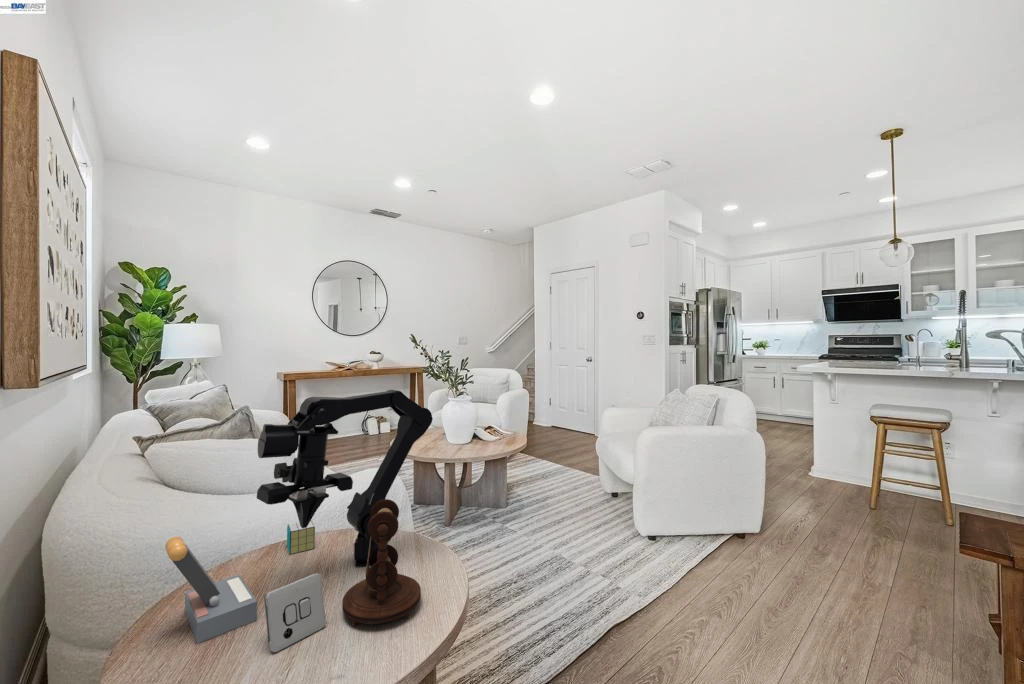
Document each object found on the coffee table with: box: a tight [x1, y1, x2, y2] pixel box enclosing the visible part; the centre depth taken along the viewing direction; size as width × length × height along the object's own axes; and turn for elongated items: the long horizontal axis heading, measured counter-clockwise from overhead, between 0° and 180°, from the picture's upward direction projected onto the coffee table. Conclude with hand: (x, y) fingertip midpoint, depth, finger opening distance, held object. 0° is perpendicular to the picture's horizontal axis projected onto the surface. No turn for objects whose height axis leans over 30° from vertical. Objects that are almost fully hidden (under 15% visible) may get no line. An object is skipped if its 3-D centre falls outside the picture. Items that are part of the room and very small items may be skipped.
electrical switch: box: [263, 572, 327, 653], centre depth 75 cm, size 9×5×9 cm, turn 141°
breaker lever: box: [164, 536, 220, 606], centre depth 77 cm, size 3×7×14 cm, turn 45°
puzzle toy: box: [286, 519, 316, 555], centre depth 107 cm, size 6×6×6 cm
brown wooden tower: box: [341, 498, 422, 627], centre depth 83 cm, size 15×15×20 cm
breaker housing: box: [184, 574, 258, 644], centre depth 80 cm, size 9×13×4 cm
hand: (303, 527), depth 91 cm, fingers closed
